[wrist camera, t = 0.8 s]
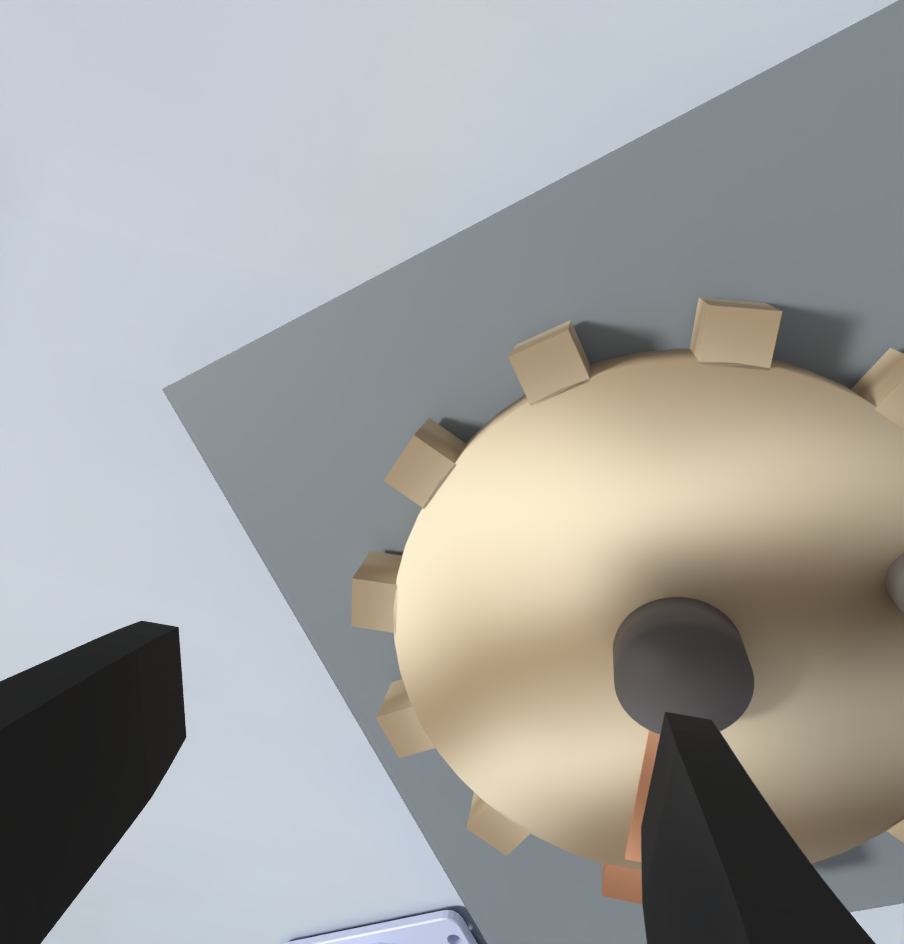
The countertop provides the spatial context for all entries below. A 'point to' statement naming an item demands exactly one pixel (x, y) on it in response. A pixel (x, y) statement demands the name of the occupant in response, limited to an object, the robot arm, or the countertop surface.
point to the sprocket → (656, 590)
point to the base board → (602, 337)
